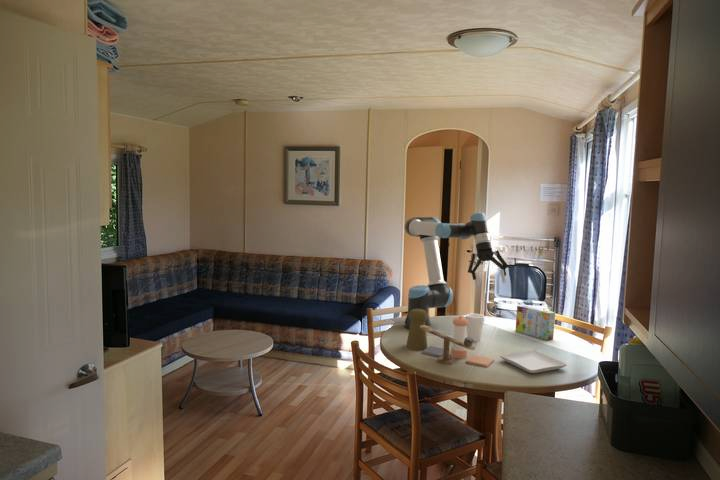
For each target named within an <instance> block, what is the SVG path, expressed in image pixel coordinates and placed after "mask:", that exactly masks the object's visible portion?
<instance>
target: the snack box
mask: <svg viewBox="0 0 720 480" xmlns="http://www.w3.org/2000/svg"><path fill="white" fill-rule="evenodd" d="M555 319H556V312H555V311H550V310H547V309H542V308H537V307H533V306H529V305H525V304H519V305H517V306H516V320H515V332H517V333H520V334H524V335H528V336H531V337H533V338H539V339H542V340H545V341H553V340H554V331H555Z"/></svg>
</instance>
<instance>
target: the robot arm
mask: <svg viewBox="0 0 720 480" xmlns="http://www.w3.org/2000/svg"><path fill="white" fill-rule="evenodd" d="M440 220H441V219H438V217H431V216H427V217H426V216H424V217H423V216H422V217H421V216H418V217H417V216H414V217H410V218H409V219H407V220H406V222H405V224H404V230H405V233H406V234H407V235H408V236H410V237H416V238H417V237H418V238H419V239H420V242H421V243H422V244H423V250H424V255H425V256H424V258H425V262H426V270H427V275H428V284H427V285H424V284H423V285H421V284H419V285H414V286H412V287H410V288H409V289H408V294H407V297H408V298H407V300H408V301H407V314H406V317H405V320H404V322H403V324H404V325H403V326H404V328H405V329H407V330H409V328H410V322H411V320H410V319H409V312H410V311H411V310H412V309H423V310H425V311H426V312H427V320H426V321H425V325H426V326H429V327H431V328H432V323H431V319H430V315H429V309H437V308H441V309H442V308H445V307H449V306H450V305H451V304H452V301H453V298H454V293H453V289H452V288H451V287H450V286H448V282H447V281H445V279H444V274H443V267H442V261H441V260H442V259H441V254H440V247H439V240H440V239H451V238H452V239H453V238H455V239H456V238H458V239H460V240H467V239H470V238H472V237H473V238H474V239H473V240H474V244H475V249H476V253H474V252H473V253H471V254H470V257H471V259H470V262H469V265H468V269H467V273H470V274H471V275H472V280H474V282H475V287H480V282H479V277H478V273H477V272H476V271H477V270H478V267H479V266H480V265H481V263H482V262H490V261H491V262H493V264H495V265H496V266H497V267H498V268H499V269H500V270H499V272H500V277H501V281H502V284H505V283H507V280H506V276H507V273H506V272H507V271H506V269H508V268H509V265H508V263H507V262H506V261H505V259H504V258H503V257H502V255H501V254H500V251H499V250H498V249H496V250H495V251H493V248H492V243H491V239H490V234H489V233H490V232H489V227H488V221H487V218H486V214H485V213H484V212H475V213H473V214H471V215H470V221H468V222H465V223H461V222H459V223H457V222H455V223H449V222H442V221H440ZM494 256H496V258H497V259H498V260H497V259H496V258H495V257H494ZM476 258H478V259H477V262H476V264H475V265H474V263H475V260H476Z"/></svg>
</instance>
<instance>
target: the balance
mask: <svg viewBox="0 0 720 480" xmlns="http://www.w3.org/2000/svg"><path fill="white" fill-rule="evenodd" d="M420 329H422V330H423V331H426V333H429V334H432V335H433V336H436V337H438V338H440V339H443V349H444V350H443V356H440V357H437V358H436V362H438V363H442V364H446V365H453V364H454V363H455V362H456V358H454V357H450V344H451V343H455V344H457V345H460V346H462V347H464V348H466V349H468V350H470V351H474V350H476V345H474V344H473V343H474V341H473V340H474V339H472V338H469V337H468V336H466V338H465V340H464V343H462V342H460V341H458V340H455V339H453V337H450V336H447V335H446V334H443V333H440V332H438V331H435V330H434V329H433V327H432V326H431V327H429V326H426V325H421V326H420Z"/></svg>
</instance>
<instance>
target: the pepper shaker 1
mask: <svg viewBox="0 0 720 480" xmlns="http://www.w3.org/2000/svg"><path fill="white" fill-rule="evenodd" d="M409 319H410V320H411V322H410V328H409V329H408V335H407V341H406V348H407V350H410V351H411V350H412V351H417V352H418V351H419V352H422V351H423V350H425V349H426V348H428V341H427V332H426V331H423V330H422V329H420V326H421V325H425V321H426V320H427V312H426V311H425V310H423V309H412V310H411V311H410V312H409Z"/></svg>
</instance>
